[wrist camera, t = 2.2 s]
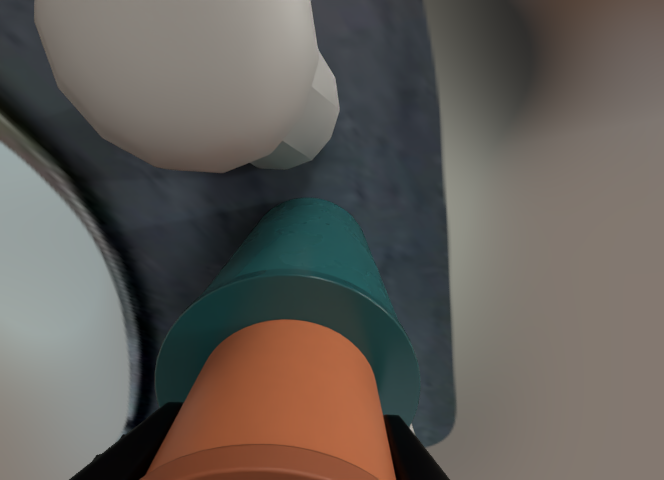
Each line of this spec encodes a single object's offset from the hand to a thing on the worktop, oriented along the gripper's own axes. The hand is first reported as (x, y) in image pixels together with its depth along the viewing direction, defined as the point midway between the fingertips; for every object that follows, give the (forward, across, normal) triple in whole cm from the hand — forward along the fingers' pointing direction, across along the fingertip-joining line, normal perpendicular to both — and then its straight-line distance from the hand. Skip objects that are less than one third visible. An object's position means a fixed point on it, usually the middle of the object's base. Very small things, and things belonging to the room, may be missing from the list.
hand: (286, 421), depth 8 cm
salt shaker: (+12, +2, -8) cm, 15 cm away
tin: (+12, 0, 0) cm, 12 cm away
